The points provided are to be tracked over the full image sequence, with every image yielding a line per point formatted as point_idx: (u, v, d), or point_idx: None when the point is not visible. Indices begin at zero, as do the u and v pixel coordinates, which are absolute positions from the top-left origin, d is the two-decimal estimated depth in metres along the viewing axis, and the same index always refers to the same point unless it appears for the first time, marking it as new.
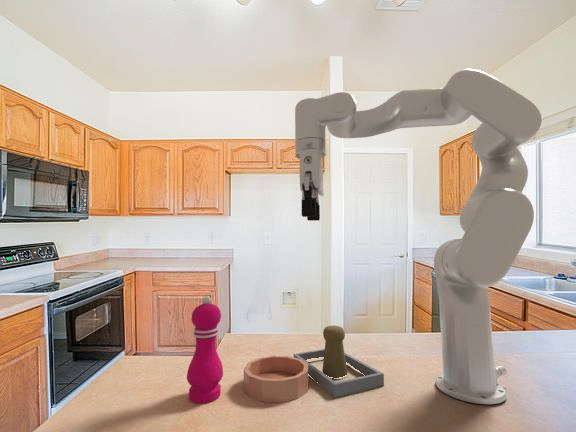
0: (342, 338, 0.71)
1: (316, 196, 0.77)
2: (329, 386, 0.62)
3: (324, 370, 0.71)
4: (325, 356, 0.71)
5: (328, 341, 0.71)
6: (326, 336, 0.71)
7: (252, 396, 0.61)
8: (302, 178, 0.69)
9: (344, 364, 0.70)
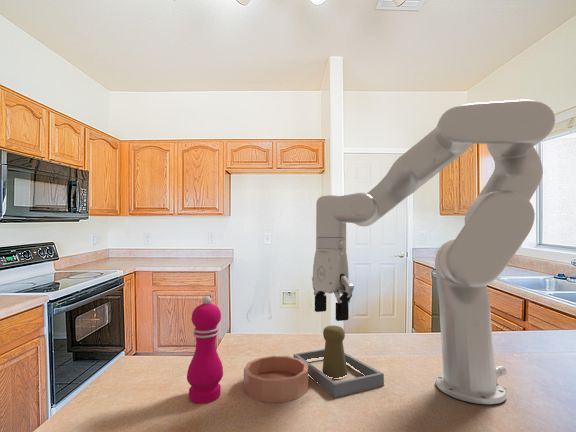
0: (342, 338, 0.71)
1: None
2: (329, 386, 0.62)
3: (324, 370, 0.71)
4: (325, 356, 0.71)
5: (328, 341, 0.71)
6: (326, 336, 0.71)
7: (252, 396, 0.61)
8: None
9: (344, 364, 0.70)
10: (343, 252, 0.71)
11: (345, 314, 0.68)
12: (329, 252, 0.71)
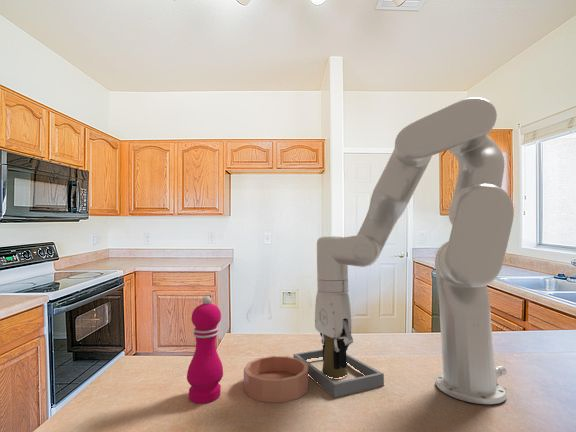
0: None
1: None
2: (329, 386, 0.62)
3: (323, 370, 0.71)
4: (325, 356, 0.71)
5: (328, 341, 0.71)
6: (326, 336, 0.71)
7: (252, 396, 0.61)
8: None
9: None
10: (345, 295, 0.70)
11: (343, 362, 0.69)
12: (331, 296, 0.70)
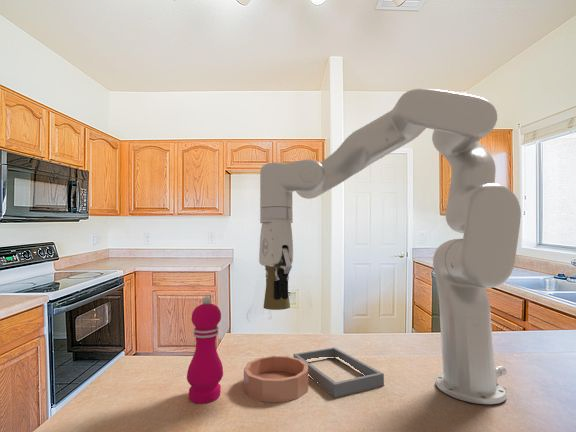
0: None
1: None
2: (329, 386, 0.62)
3: (264, 302, 0.67)
4: (266, 288, 0.67)
5: (269, 271, 0.67)
6: (267, 266, 0.67)
7: (252, 396, 0.61)
8: None
9: None
10: (286, 222, 0.66)
11: (283, 292, 0.65)
12: (271, 222, 0.66)
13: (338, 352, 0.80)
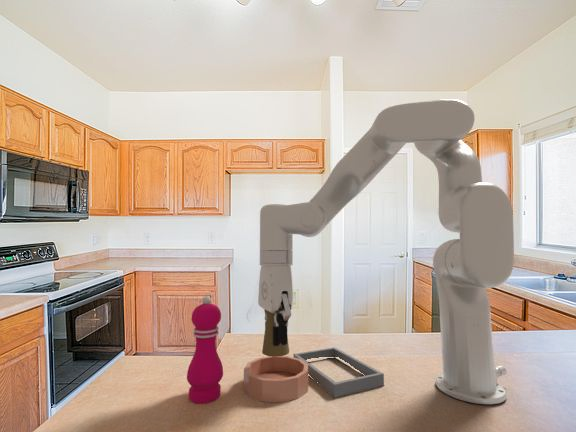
0: None
1: None
2: (329, 386, 0.62)
3: (263, 347, 0.66)
4: (265, 332, 0.66)
5: (268, 316, 0.66)
6: (266, 310, 0.66)
7: (252, 396, 0.61)
8: None
9: None
10: (286, 267, 0.65)
11: (283, 339, 0.64)
12: (271, 267, 0.65)
13: (338, 352, 0.80)
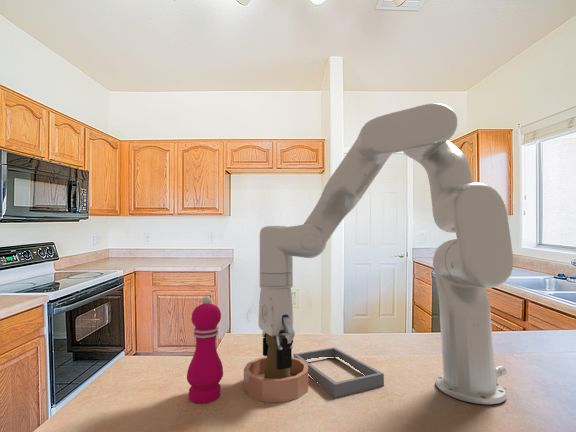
0: None
1: None
2: (329, 386, 0.62)
3: None
4: (267, 362, 0.65)
5: (270, 346, 0.65)
6: (268, 340, 0.65)
7: (252, 396, 0.61)
8: None
9: (286, 371, 0.64)
10: (287, 290, 0.64)
11: (287, 362, 0.62)
12: (271, 290, 0.64)
13: (338, 352, 0.80)
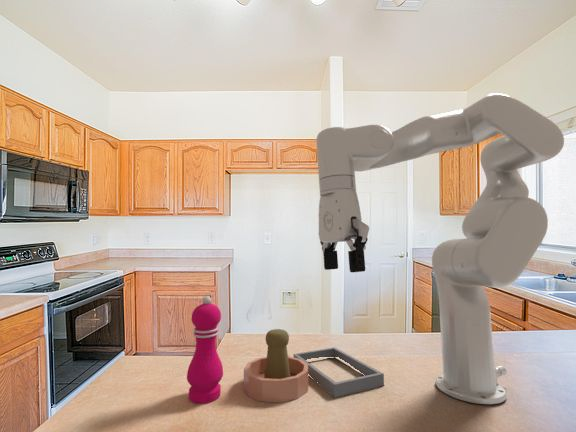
0: (285, 343, 0.65)
1: None
2: (329, 386, 0.62)
3: None
4: (266, 363, 0.65)
5: (269, 346, 0.65)
6: (267, 340, 0.65)
7: (252, 396, 0.61)
8: None
9: (286, 371, 0.64)
10: (353, 191, 0.59)
11: (361, 264, 0.56)
12: (336, 193, 0.59)
13: (338, 352, 0.80)
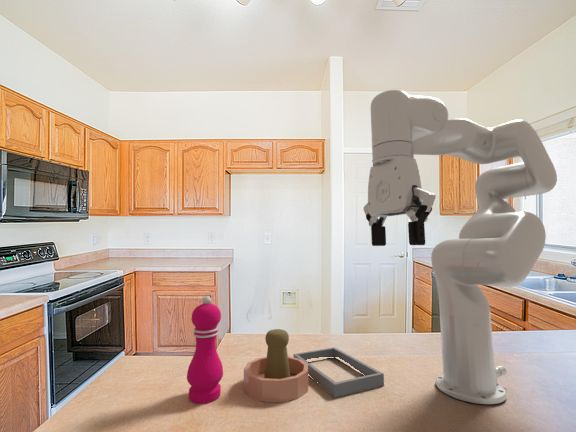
0: (285, 343, 0.65)
1: None
2: (329, 386, 0.62)
3: None
4: (266, 363, 0.65)
5: (269, 346, 0.65)
6: (267, 341, 0.65)
7: (252, 396, 0.61)
8: None
9: (286, 371, 0.64)
10: (413, 159, 0.54)
11: (422, 236, 0.51)
12: (395, 159, 0.54)
13: (338, 352, 0.80)
